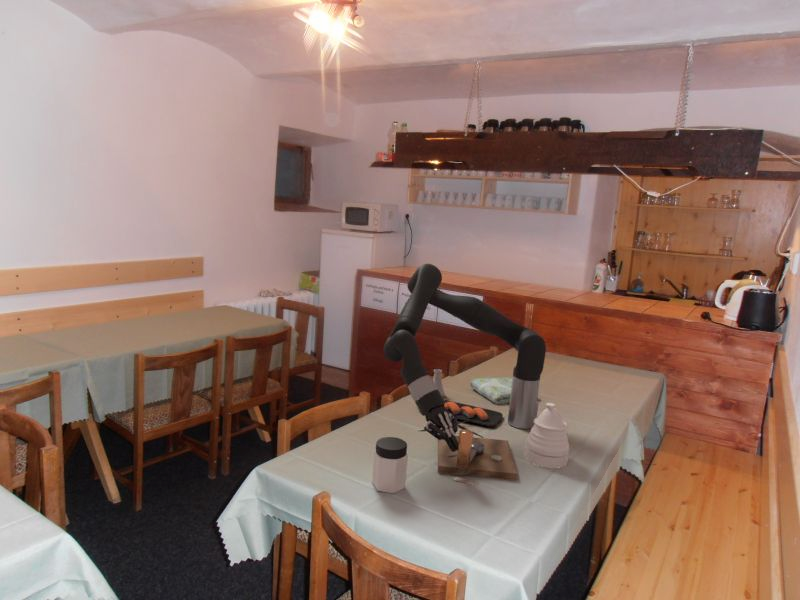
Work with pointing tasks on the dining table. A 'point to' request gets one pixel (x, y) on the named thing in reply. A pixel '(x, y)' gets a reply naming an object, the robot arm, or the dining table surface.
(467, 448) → the lever
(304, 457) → the dining table surface
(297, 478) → the dining table surface
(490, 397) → the towel
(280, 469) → the dining table surface
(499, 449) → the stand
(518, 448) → the dining table surface
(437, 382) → the flask
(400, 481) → the jar
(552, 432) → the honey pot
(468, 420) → the sushi plate
